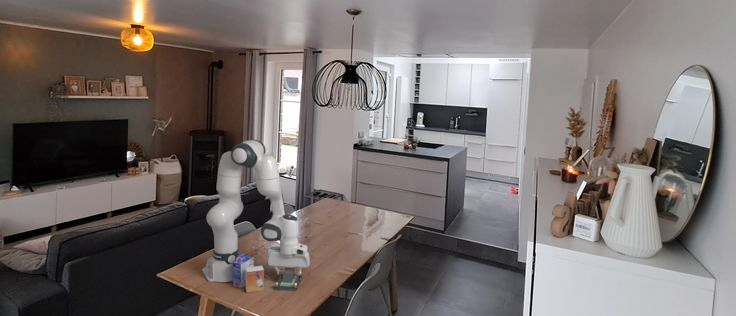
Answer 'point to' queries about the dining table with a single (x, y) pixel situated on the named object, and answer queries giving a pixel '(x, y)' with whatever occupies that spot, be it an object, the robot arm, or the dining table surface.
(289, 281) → the circuit board
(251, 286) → the small box
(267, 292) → the dining table surface
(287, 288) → the chassis plate
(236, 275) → the ink cartridge box
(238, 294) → the dining table surface
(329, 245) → the dining table surface
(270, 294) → the dining table surface
